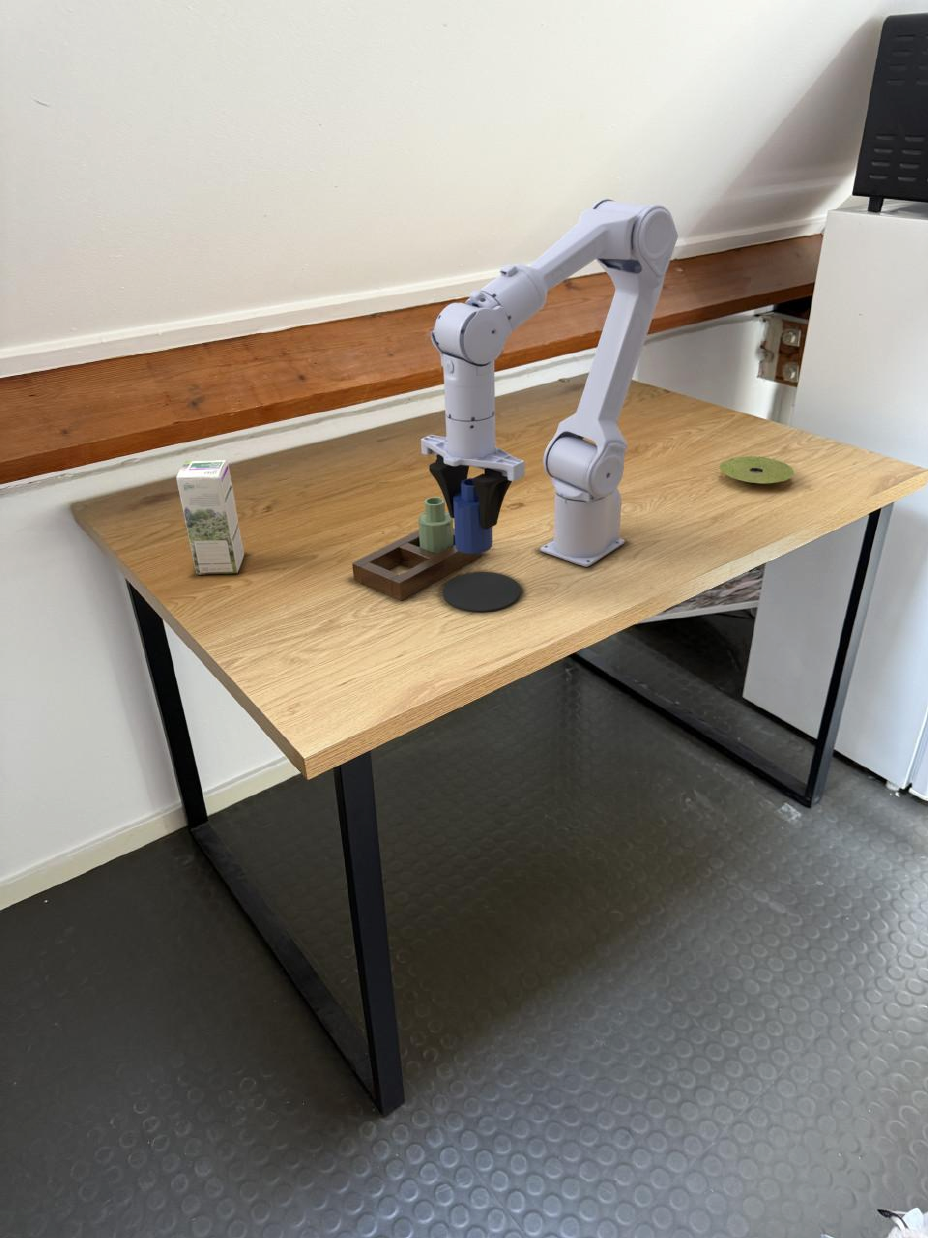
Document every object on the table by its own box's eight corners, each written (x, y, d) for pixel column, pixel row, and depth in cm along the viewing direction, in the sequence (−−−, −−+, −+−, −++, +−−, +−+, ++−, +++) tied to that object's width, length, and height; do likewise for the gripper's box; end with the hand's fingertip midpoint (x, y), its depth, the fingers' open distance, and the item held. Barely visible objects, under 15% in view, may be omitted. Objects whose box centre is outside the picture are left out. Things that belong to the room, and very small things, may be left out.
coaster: (477, 566, 122) (477, 564, 122) (536, 589, 117) (536, 587, 116) (426, 595, 116) (426, 593, 116) (486, 621, 110) (486, 618, 110)
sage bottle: (436, 547, 128) (433, 491, 123) (460, 556, 125) (458, 499, 121) (413, 559, 125) (410, 502, 120) (438, 568, 122) (435, 511, 118)
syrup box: (245, 554, 127) (228, 457, 120) (237, 575, 122) (219, 474, 115) (204, 556, 127) (185, 458, 120) (195, 576, 122) (174, 476, 115)
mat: (705, 471, 148) (706, 460, 147) (766, 462, 150) (768, 451, 149) (741, 498, 139) (743, 486, 138) (806, 488, 141) (808, 476, 140)
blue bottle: (471, 534, 116) (470, 471, 112) (499, 544, 113) (499, 480, 109) (447, 547, 113) (445, 483, 109) (475, 557, 110) (474, 492, 106)
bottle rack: (353, 580, 120) (351, 562, 119) (435, 537, 130) (434, 521, 129) (401, 601, 115) (399, 583, 114) (482, 555, 125) (482, 538, 124)
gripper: (400, 410, 106) (408, 516, 113) (496, 436, 98) (498, 548, 105) (441, 395, 111) (446, 497, 118) (536, 418, 102) (535, 527, 109)
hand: (473, 520), depth 112 cm, fingers closed on blue bottle, 4 cm apart
